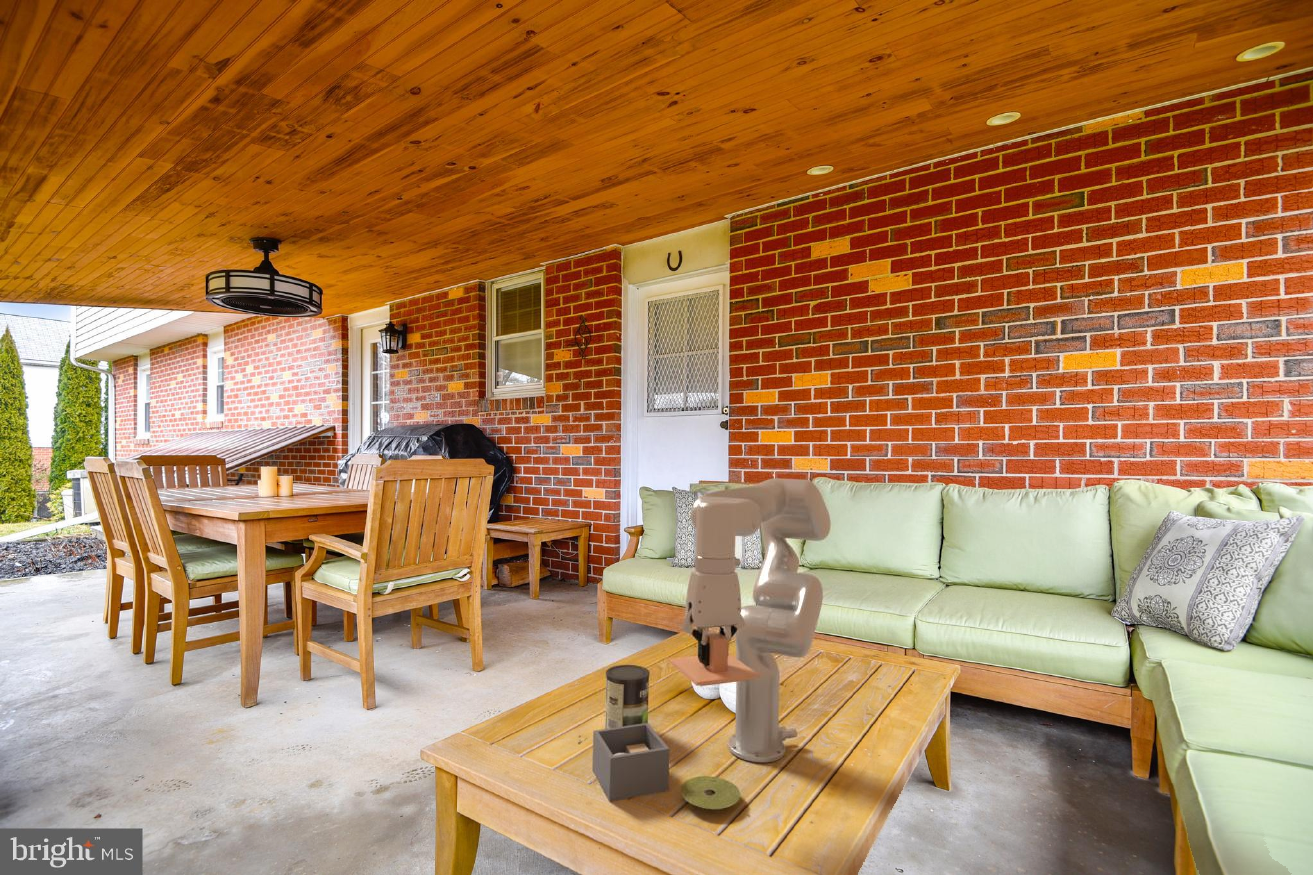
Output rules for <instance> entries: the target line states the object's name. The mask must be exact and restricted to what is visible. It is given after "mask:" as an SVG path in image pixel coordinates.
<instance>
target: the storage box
mask: <svg viewBox="0 0 1313 875" xmlns="http://www.w3.org/2000/svg"><path fill="white" fill-rule="evenodd" d="M592 737H593V738H592V740H593V741H592V768H591V769H592V773H593V774H594V776H595V778H596V780H597V782H598V783H599V785H600V787H601V788H602V790H603V792H604V794H605V797H606V798H607V800H608V802H609V801H611V802H615V801H614V800H616V801H621V800H626V799H630V798H631V799H632V798H636V797H641V796H647V795H652V794H656V793H662V792H667V791H668V792H669V786H670V783H669V781H670V776H669V775H670V748H669V746H668V745H667V744H666V743H665V742H664V740H663V739H662V738H661V736H660V735H659V734H658V733H657V732H656V730H655V729H654V728H653V727H652V726H651V725H650V724H649V722H648V723H643V724H636V725H630V726H623V727H616V728H609V729H605V728H603V729H597V730H593V734H592Z"/></svg>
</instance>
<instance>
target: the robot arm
mask: <svg viewBox="0 0 1313 875" xmlns="http://www.w3.org/2000/svg"><path fill="white" fill-rule="evenodd" d="M690 520H691V523H692V525H693V527H694V529H696V531H695V565H694V568H695V569H694V570H695V571H691V572H690V575H689V579H688V583H687V584H688V585H687V589H686V599H685V611H684V612H685V614H684V620H683V622H682V625H681V627H680V629H681V631H683V632H685V633H687V634H689V635H691V636H692V637H693V638H694V639H695V640H696V641H697V656H698V659H699V661H700V662H701V663H702V664H703V665H705V666H709V656H710V646H709V644H708V632H709V630H710V629H711V628H712V629H713V628H718V633H720V634H722V635H723V636H725V637H726V638H728V647H730V646H729V644H730V643H731V642H732V638H733V637H734V643H735V652H736V659H737V660H739V661H740V662H742V663H743V664H745V665H746V666H748V667H749V668H751V669H752V670H754V671H755V672H757V673H758V674H760V678H755V679H748V680H747V681H739V682H735V683H736V685H735V686H736V688H735V731H734V732H735V733H734V734H733V735H731V736H730V737H729V738H728V740H727V742H728V744H727V746H728V749H729V751H730V752H731V754H732V755H734V756H735V757H737V758H739V759H742V760H745V761H749V762H753V763H763V764H764V763H770V762H771V763H772V762H777V761H778V760H780V759H782V758H783V757H784V756H785V754H786V746H785V744H784V741H786V740H787V739H794V738H797V737H798V731H797V729H796V727H795V728H786V726H785V725H779V722H780V720H779V714H780V678H781V676H780V668H779V666H778V663H777V661H776V659H775V657H774V655H773V654H775V655H780V656H784V657H785V656H786V657H791V658H798V659H799V658H804V657H805V656H807V655H808V654H809V652H810V650H811V647H812V644H813V640H814V637H815V632H816V629H817V625H818V622H819V617H820V615H821V611H822V605H823V598H824V592H823V586H822V583H821V580H819V578H818V577H816V576H815V575H812V574H809V573H805V572H804V573H802V572H798V570H799V567H800V559H799V557H798V555H797V553H796V550H794V548H793V547H792V546H791V545H790V544H789V543H788V541H787V539H793V540H801V541H811V542H812V541H813V542H819V541H823V540H825V539H826V538H827V537H828V536H829V535H830V531H831V523H832V522H831V517H830V514H829V510H828V507H827V505H826V502H825V500H824V498H823V495H822V494H821V492H820V490H819V488H818V487H817V485H816V484H815V483H814V482H813V481H812V480H809V479H801V478H800V479H796V478H795V479H794V478H770V479H767V480H763V481H761V482H759V483H756V484H753V485H751V486H750V485H748V486H741V487H737V488H736V487H735V488H729V489H728V488H727V489H722V490H720V489H719V490H717V491H716V490H715V491H711V492H707V493H705V494H703V495H701V496H699V497H698V498H697V499H696V500H695V501H694V503H693V504H692V507H691V510H690ZM760 528H761V534H762V542H763V546H764V558H763V560H762V564H761V566H760V568H759V571H758V574H757V577H756V580H755V582H754V585H753V590H752V599H753V602H754V603H755V604H754V605H753V604H752V605H749V604H748V605H745V606H743V607H742V598H741V596H742V595H741V587H740V581H739V575H738V572H736V568H737V566H740V565H741V559H740V558H737V557H736V537H750V536H753V535H754V534H755V533H757V531H758V530H759V529H760ZM692 625H693V626H694V627H695V628H694V627H693V626H692Z"/></svg>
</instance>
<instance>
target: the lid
mask: <svg viewBox="0 0 1313 875" xmlns="http://www.w3.org/2000/svg"><path fill="white" fill-rule="evenodd" d="M708 644H709V646H710V656H709V666H705V665H703V664H702V663H701V662H700V661H699V659H698V655H694V656H692V655H691V656H685V657H684V656H683V657H675V658H668V663H669V664H670V665H672V666H673V667H674V668H675V669H677V670H678V671H679V672H680V673H681V674H682V675H683V676H685V678H687V679H689V680H688V681H690V682H692V684H694V685H695V686H697V687H698V686H699V687H705V686H713V685H722V684H731V683H736V682H739V681H747V680H748V679H755V678H760V674H758V673H757V672H755V671H754V670H752V669H751V668H749V667H748V666H746V665H745V664H743V663H742V662H740V661H739V660H737V657H734V656H733V655H731V654H729V646H728V638H726V637H725V636H723V635H722V634H720V633H719V631H717V630H715V629H709V632H708Z"/></svg>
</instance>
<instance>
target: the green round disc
mask: <svg viewBox="0 0 1313 875" xmlns="http://www.w3.org/2000/svg"><path fill="white" fill-rule="evenodd" d="M680 794H681V796H682V798H683V799H684V800H685V801H686V802H688V803H689V804H691V805H693V806H696V807H699V808H700V809H705V810H709V809H710V810H721V809H722V810H723V809H725V808H729V807H732V806H733V805H735V804H737V802H738V801H739V800H740V797H741V792H740V789H739V788H738V787H737V785H735V784H734V783H733V782H732V781H729V780H727V779H724V778H721V777H717V776H712V775H711V776H709V775H699V776H693V777H691V778H689V779H687V780H685V781H684V782H683V783H682V785H681V786H680Z"/></svg>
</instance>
